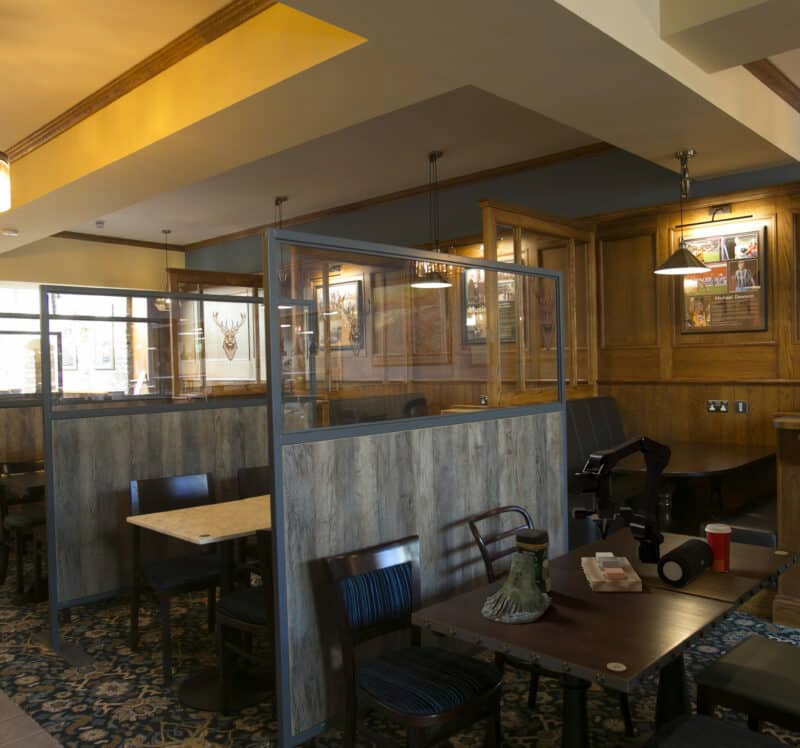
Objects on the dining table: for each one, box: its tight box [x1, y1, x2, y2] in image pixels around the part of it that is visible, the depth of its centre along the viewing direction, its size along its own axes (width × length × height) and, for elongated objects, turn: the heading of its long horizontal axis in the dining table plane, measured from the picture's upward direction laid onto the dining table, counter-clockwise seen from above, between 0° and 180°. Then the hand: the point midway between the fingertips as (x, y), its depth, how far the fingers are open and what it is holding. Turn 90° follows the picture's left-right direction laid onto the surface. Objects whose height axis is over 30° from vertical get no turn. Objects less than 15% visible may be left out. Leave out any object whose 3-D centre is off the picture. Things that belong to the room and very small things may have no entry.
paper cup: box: [704, 523, 733, 573], centre depth 223 cm, size 8×8×14 cm
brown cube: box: [604, 568, 625, 580], centre depth 211 cm, size 5×5×5 cm
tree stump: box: [481, 552, 553, 625], centre depth 195 cm, size 18×20×18 cm
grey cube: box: [600, 556, 619, 571], centre depth 220 cm, size 5×5×5 cm
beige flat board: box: [581, 556, 643, 592], centre depth 220 cm, size 14×26×3 cm, turn 172°
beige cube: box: [595, 552, 615, 563], centre depth 229 cm, size 5×5×5 cm
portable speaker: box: [656, 538, 714, 588], centre depth 216 cm, size 26×10×10 cm, turn 139°
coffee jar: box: [514, 527, 552, 594], centre depth 210 cm, size 10×8×19 cm
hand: (603, 539), depth 228 cm, fingers closed
